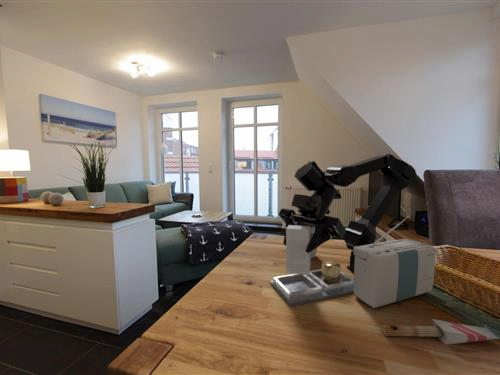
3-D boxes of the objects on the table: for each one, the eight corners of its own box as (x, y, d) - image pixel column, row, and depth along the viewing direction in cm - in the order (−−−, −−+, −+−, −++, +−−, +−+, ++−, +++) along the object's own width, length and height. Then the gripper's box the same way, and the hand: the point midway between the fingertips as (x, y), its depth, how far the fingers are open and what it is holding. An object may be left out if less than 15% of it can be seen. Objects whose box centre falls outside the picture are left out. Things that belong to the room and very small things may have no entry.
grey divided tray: (331, 272, 76) (332, 254, 75) (360, 291, 64) (361, 270, 64) (270, 283, 69) (270, 263, 68) (290, 306, 57) (291, 283, 57)
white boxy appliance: (375, 313, 55) (379, 228, 53) (348, 295, 62) (351, 220, 60) (434, 295, 62) (440, 220, 60) (404, 281, 70) (408, 213, 68)
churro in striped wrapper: (502, 333, 44) (387, 330, 46) (501, 346, 44) (387, 343, 46) (484, 319, 48) (378, 317, 50) (483, 332, 48) (378, 329, 50)
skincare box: (310, 269, 65) (311, 226, 64) (309, 276, 61) (309, 230, 60) (288, 266, 67) (288, 224, 66) (285, 273, 63) (285, 228, 62)
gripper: (282, 181, 71) (254, 223, 65) (340, 185, 57) (312, 240, 51) (299, 204, 77) (275, 245, 71) (355, 213, 63) (331, 265, 57)
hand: (295, 248), depth 62 cm, fingers closed on skincare box, 7 cm apart
